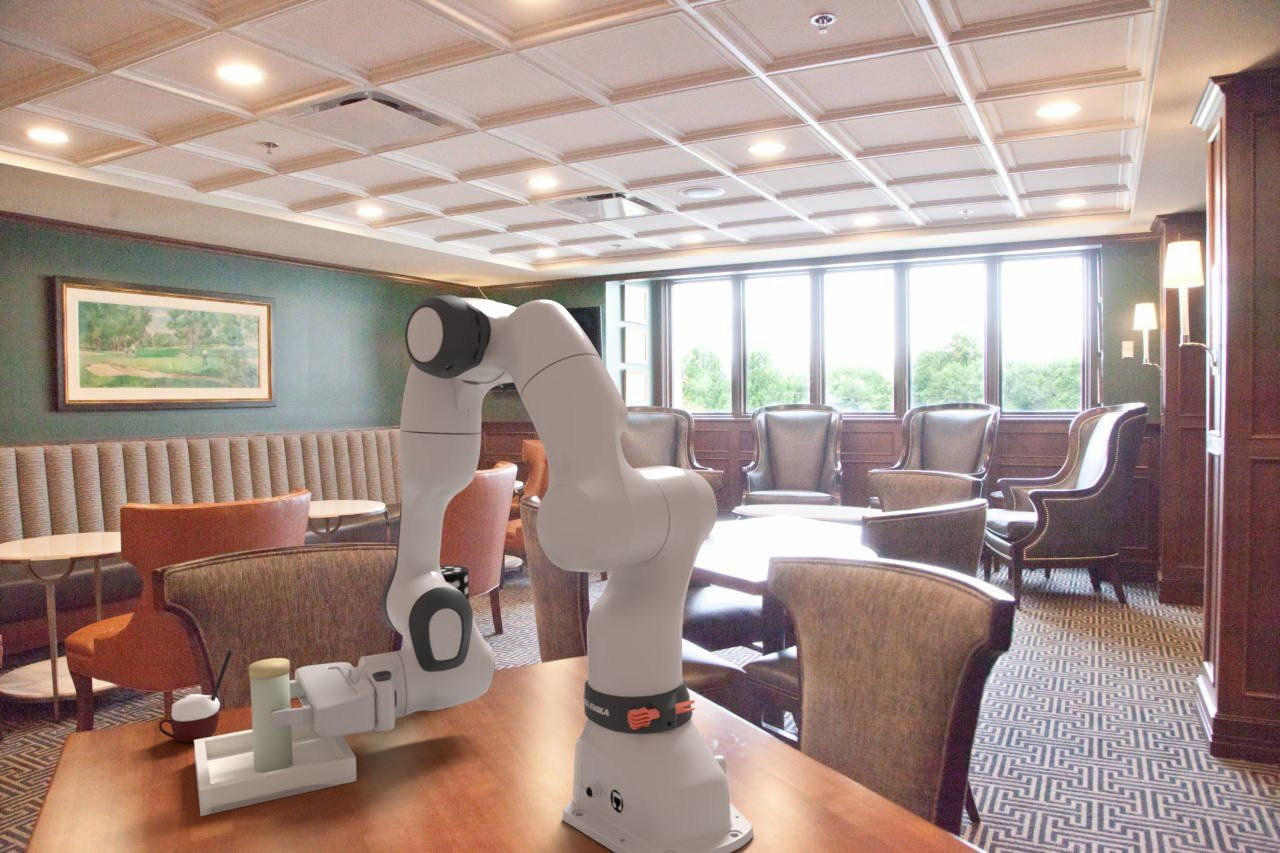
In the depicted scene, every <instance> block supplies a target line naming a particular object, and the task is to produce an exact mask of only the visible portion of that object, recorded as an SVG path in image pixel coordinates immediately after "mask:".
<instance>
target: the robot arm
mask: <svg viewBox="0 0 1280 853" xmlns="http://www.w3.org/2000/svg"><path fill="white" fill-rule="evenodd" d="M404 334H405V335H404V339H405V348H406V351H407V355H408V357H409V359H410V361H411V363H412V364H411V365H410V367H409V369H408V374H407V378H406V381H405V386H404V392H403V398H402V404H401V412H400V427H399V429H400V430H399V464H400V490H401V491H400V493H401V496H400V497H401V498H400V509H399V521H398V530H397V534H398V535H397V542H396V555H395V560H394V561H395V562H394V565H393V569H392V570H391V573H390V575H389V577H388V579H387V582H386V583H385V586H384V588H383V591H382V593H381V599H380V609H381V610H380V612H381V614H382V617H383V620H384V621H385V622H386V624H387V625H388V627H389V628H391V629H392V630H394V631H395V632H396V633H398V634H400V635H401V636H402V637H403V638H402V639H403V640H402V641H403V647H402V648H401V649H400V650H396V651H391V652H389V651H388V652H383V653H378V654H372V655H370V654H369V655H364V656H361V657H360V658H359V660H358V664H357V666H355V667H354V666H353V665H352V664H351V663H350V662H345V661H343V662H341V661H339V662H328V663H320V664H311V665H304V666H300V667H298V668H297V669H296V670H295V671H294V679H289V681H290V699H296V698H297V699H299V701H300V703H301V707H292V708H291V709H286V708H285V707H284V708H279V709H273V710H272V711H271V712H270V721H271V724H272V726H273V727H279V726H284V725H293V726H306V725H311V724H312V726H313V728H314V730H315V732H316V734H317V735H318V736H323V737H336V736H348V735H355V734H362V733H366V732H370V731H373V730H374V729H375V730H376V731H377V732H378V733H385V732H390V731H392V730H393V729H395V724H396V720H397V719H398V718H403V717H407V716H408V715H410V714H412V713H416V712H419V711H430V712H432V711H433V712H435V711H439V710H444V709H448V708H452V707H457V706H459V705H463V704H464V705H465V704H466V703H469V702H472V701H475V700H477V699H478V698H480V697H482V696H483V695H485V694H486V693H487V691H489V689H490V688H491V685H492V683H493V680H494V676H495V669H496V667H495V665H496V664H495V657H494V651H493V648H492V647H491V645H490V644H489V643H488V642H487V641H486V639H485V638H484V637H483V636H482V633H481V632H480V630H479V629H478V626H477V623H476V621H475V619H474V612H473V608H472V605H471V603H470V600H469V601H468V599H467V598H466V597H465V596H464V594H463V593H461V592H460V591H459V590H458V589H456V588H455V587H454V586H452V585H451V584H449V583H447V582H446V581H445V579H444V577H443V575H442V572H441V569H440V566H441V565H440V558H441V556H440V555H441V547H442V537H443V536H442V534H443V525H444V517H445V512H446V510H447V507H448V505H449V503H450V502H451V500H453V499H454V498H455V496H457V495H458V494H459V493H461V492H462V491H464V490H465V489H466V488H467V487H468V486H469V485H470V484H471V483H472V482H473V480H474V479H475V477H476V473H477V470H478V465H479V460H480V455H481V454H480V453H481V445H482V444H481V443H482V408H483V407H482V406H483V402H484V401H483V400H484V399H485V396H486V395H487V393H488V392H489V391H490V390H491V389H493V388H495V387H497V388H498V389H499V390H500V391H503V392H507V391H509V390H511V389H514V388H516V391H517V392H518V394H519V397H520V399H521V401H522V403H523V405H524V407H525V409H526V411H527V413H528V416H529V417H530V419H531V422H532V424H533V427H534V428H535V431H536V433H537V435H538V437H539V440H540V442H541V444H542V447H543V449H544V452H545V456H546V461H547V467H548V485H547V489H546V491H545V494H544V496H543V497H542V499H541V501H540V503H539V505H538V508H537V509H538V510H537V512H536V513H537V514H536V520H535V521H536V522H535V524H536V528H535V529H536V534H537V539H538V542H539V544H540V547H541V549H542V551H543V552H544V554H545V556H546V557H547V558H548V560H549V561H550V562H551V563H552V564H553V565H554V566H556V567H558V568H560V569H561V570H563V571H567V572H577V573H578V572H579V573H606V572H610V575H609V578H608V581H607V584H606V586H605V588H604V589H603V592H602V593H601V595H600V596H599V598H598V599H597V600H596V602H595V603H594V604H593V606H592V607H591V609H590V611H589V612H588V616H587V621H586V650H587V651H586V652H587V654H586V655H587V679H586V680H585V682H584V691H583V703H584V707H583V708H584V715H585V716H586V717H587V718H586V721H585V724H584V728H583V729H582V731H581V734H580V735H579V737H578V738H577V740H576V742H575V746H574V748H575V750H574V761H573V762H574V763H573V784H572V786H573V787H572V800H571V801H570V802H568V803H567V804H566V805H565V806H564V808H563V810H562V820H563V821H564V822H565V823H567V824H568V825H570V826H571V827H573V828H574V829H576V830H578V831H579V832H582V833H583V834H584V835H586V836H588V837H590V838H591V839H593V840H594V841H595V842H597V843H599V844H600V845H602V846H604V847H606V848H607V849H609V850H610V851H612V852H613V853H732V852H734V851H736V850H738V849H740V848H742V847H743V846H745V845H746V844H747V843H748V842H749V841H751V839H752V838H753V836H754V829H753V824H751V823H750V821H749V820H748V819H747V818H746V817H745V815H743V814H742V812H740V810H738V808H737V807H736V806H735V805H734V804H733V803H732V802H731V801H730V791H729V789H730V788H729V783H728V779H727V775H726V774H727V770H728V769H727V762H726V760H725V758H724V755H721V754H716V755H714V754H713V752H712V750H711V748H710V746H708V743H707V742H706V739H705V737H704V734H702V733H700V731H699V729H698V727H697V726H696V724H695V722H694V720H693V718H692V716H693V711H694V710H695V709H696V708H695V707H692V705H693V704H694V703H695V700H693V699H692V700H690V699H691V695H690V693H689V692H690V691H689V690H688V687H687V686H688V685H687V683H686V680H685V678H684V677H683V619H684V610H685V604H686V598H687V594H688V589H689V586H690V581H691V577H692V574H693V571H694V570H693V569H694V566H695V563H696V560H697V557H698V554H699V552H700V550H701V548H702V546H703V544H704V543H705V541H706V539H707V538H708V536H710V534H711V532H712V530H713V529H714V527H715V525H716V521H717V516H718V503H717V498H716V494H715V492H714V490H713V487H712V486H711V484H710V483H709V482H708V481H707V479H706V478H705V477H703V476H702V475H701V474H699V473H698V472H695V471H694V470H690V469H686V468H681V467H676V466H672V465H655V466H646V467H637V468H633V467H632V466H631V465H630V464H629V463H628V461H627V459H626V457H625V454H624V451H623V446H622V440H621V436H622V435H623V433H624V431H625V429H626V427H627V425H628V421H629V410H628V407H627V405H626V403H625V400H624V399H623V397H622V395H621V393H620V391H619V390H618V388H617V386H616V384H615V383H614V380H613V379H612V377H611V375H610V373H609V371H608V369H607V367H606V365H605V363H604V362H603V360H602V357H601V356H600V354H599V353H598V351H597V349H596V348H595V346H594V344H593V343H592V341H591V339H590V338H589V336H588V335H587V334H586V332H585V331H584V329H583V328H582V327H581V325H580V324H579V322H578V321H577V320H576V319H575V317H574V316H573V315H572V314H571V313H570V312H569V311H568V310H567V308H565V307H564V306H563V305H562V304H560V303H559V302H557V301H554V300H551V299H544V298H543V299H534V300H530V301H528V302H524V303H523V304H521V305H519V306H518V307H517V306H514V305H511V304H506V303H503V302H497V301H496V300H493V299H485V298H480V297H477V298H476V297H460V296H456V295H453V294H448V295H445V294H444V295H437V296H431V297H426V298H425V299H423V300H421V301H420V302H419V303H417V304H416V306H414V308H413V309H412V311H411V312H410V314H409V317H408V320H407V322H406V325H405V333H404Z"/></svg>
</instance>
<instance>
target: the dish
mask: <svg viewBox="0 0 1280 853" xmlns="http://www.w3.org/2000/svg"><path fill="white" fill-rule="evenodd" d="M291 728H292V752H293V763H292V764H291V765H290V766H289V767H287V768H285V769H280V770H276V771H271V772H266V773H261V772H257V771H255V770H254V753H253V730H252V728H251V729H246V730H241V731H240V730H239V731H234V732H230V733H225V734H224V733H223V734H220V735H219V734H218V735H212V736H210V737H207V738H202V739H197V740H194V743H193V744H194V745H193V746H194V747H193V748H194V766H195V776H196V785H197V786H196V787H197V795H198V805H199V814H200V815H199V816H200V817H204V816H207V815H213V814H217V813H222V812H225V811H230V810H234V809H238V808H243V807H248V806H252V805H256V804H260V803H265V802H270V801H274V800H278V799H283V798H287V797H291V796H295V795H296V796H297V795H301V794H305V793H309V792H313V791H317V790H322V789H327V788H330V787H331V788H332V787H335V786H340V785H345V784H348V783H354V782H357V757H356V755H355V753H354V751H353V750H352V748H351V746H350V744H349V743H348V741H347V740H346V737H345V735H343V736H336V737H323V736H318V735H317V734H316V732H315V730H314V728H313V726H312V724H311V725H306V726H293V725H291Z"/></svg>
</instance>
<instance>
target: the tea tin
mask: <svg viewBox="0 0 1280 853" xmlns="http://www.w3.org/2000/svg"><path fill="white" fill-rule="evenodd" d="M290 668H291V666H290V659H288V658H284V657H282V658H281V657H274V658H273V657H272V658H266V659H265V658H264V659H260V660H258V661H255V662H252V663H251V664H249V665H248V678H250V702H251V705H250V706H251V722H252V723H251V725H252V726H251V727H252V728H251V729H252V730H253V753H254V770H255V771H257V772H261V773H266V772H271V771H276V770H280V769H285V768H287V767H289V766H290V765H291V764H292V763H293V752H292V728H291V725H284V726H279V727H273V726H272V724H271V721H270V712H271V711H272V710H273V709H279V708H284V707H285V708H286V709H291V698H290V681H289V680H290V671H291V669H290Z"/></svg>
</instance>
